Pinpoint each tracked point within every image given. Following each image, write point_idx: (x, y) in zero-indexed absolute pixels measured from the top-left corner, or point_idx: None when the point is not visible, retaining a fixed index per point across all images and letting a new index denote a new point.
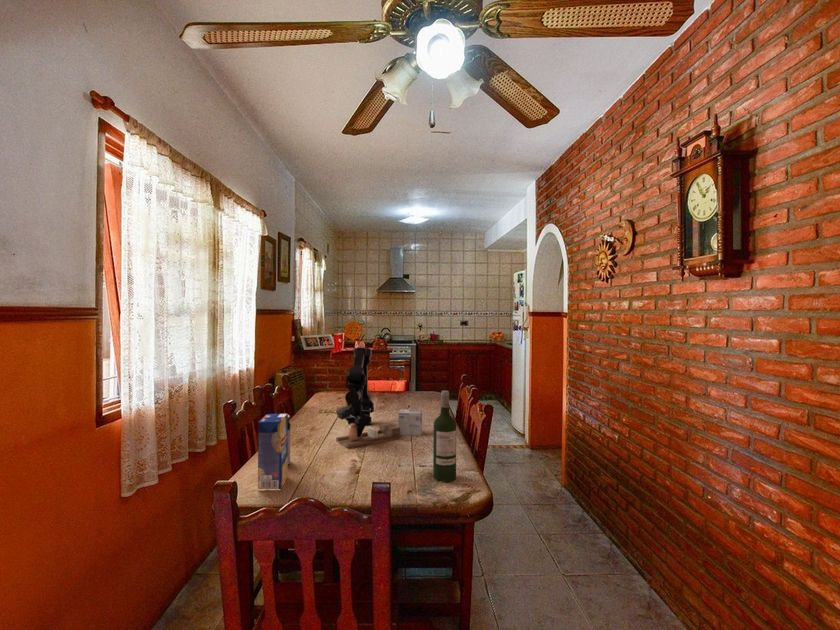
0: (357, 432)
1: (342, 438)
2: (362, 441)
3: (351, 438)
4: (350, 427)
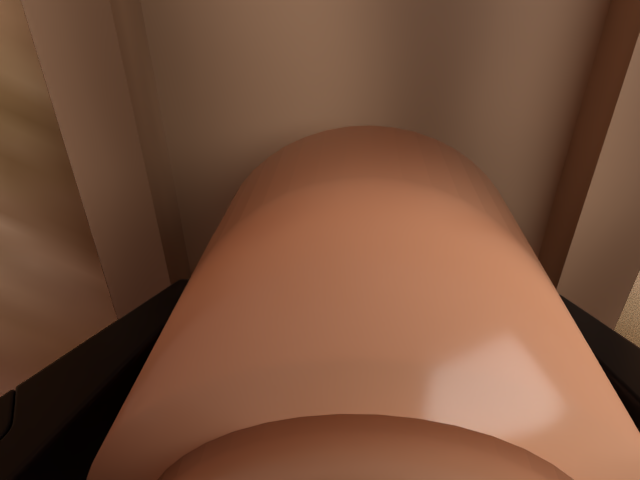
0: (97, 342)
1: (623, 48)
2: (103, 270)
3: (281, 156)
4: (255, 338)
